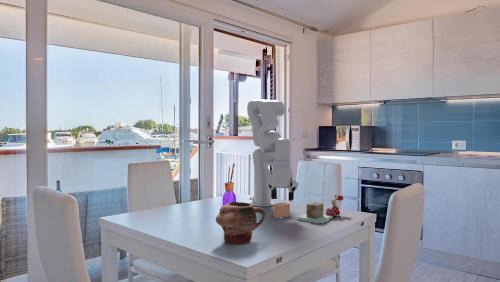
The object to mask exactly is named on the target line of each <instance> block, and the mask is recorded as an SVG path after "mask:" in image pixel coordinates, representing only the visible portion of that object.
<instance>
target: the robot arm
mask: <svg viewBox="0 0 500 282" xmlns="http://www.w3.org/2000/svg"><path fill="white" fill-rule="evenodd" d="M246 108H247V109H246V110H247V111H246V112H247V116H248V119H249V122H250V124H251V130H252V139H253V145H254V146H255V147H257V148H256V149H255V150H254V151H252V160H253V161H252V162H253V168H254V169H253V172H254V173H253V174H254V176H253V177H254V178H253V179H254V181H253V195H250V196H249V197H248V200H249V201H251V203H250V204H252V205H253V207H260V208H266V207H273V205H274V204H275V202H273V201H272V200H275V199H277V188H278V189H279V188H280V189H287V190H288V201H289V202H290V201H293V200H294V197H295V194H294V193H295V192H296V190H297V189H298V186H299V182H298V181H296V180H294V178H293V169H292V166H291V141H290V139H289V138H282V136H281V134H280V132H279V131H276V130H275V129H277V128H278V127H279V122H280V121H279V119H278V117H283V116H284V114H285V112H286V107H285V104H284V102H283V101H282V100H276V99H252V100H250V101H248V103H247V107H246ZM268 166H272V171H271V170H270V169H269V168H268Z"/></svg>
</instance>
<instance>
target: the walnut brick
mask: <svg viewBox="0 0 500 282" xmlns="http://www.w3.org/2000/svg"><path fill="white" fill-rule="evenodd" d="M306 214H307V216H306V217H310V218H319V217H322V216H323V215H324V202H316V201H312V202H309V203H306Z"/></svg>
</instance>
